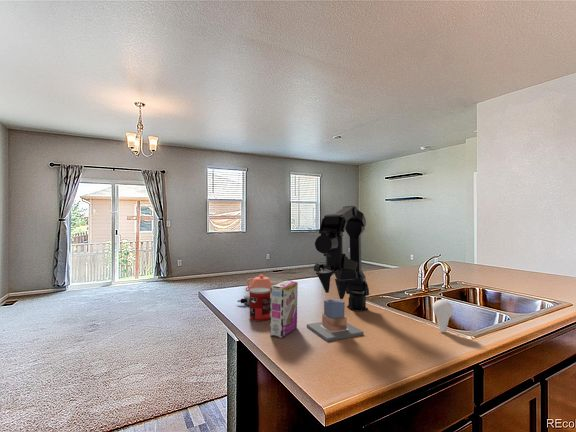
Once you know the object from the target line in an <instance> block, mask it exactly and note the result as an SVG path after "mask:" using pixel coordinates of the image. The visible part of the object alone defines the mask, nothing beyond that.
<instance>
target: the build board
mask: <svg viewBox="0 0 576 432" xmlns="http://www.w3.org/2000/svg"><path fill="white" fill-rule="evenodd" d="M306 328H307V329H309V330H310V331H312V332H313V333H314V334H316V335H317V336H318V337H320V338H321V339H323V340H324V341H325V342H332V341H337V340H338V341H339V340H342V339H348V338H354V337H359V336H364V331H363V330H361V329H360V328H357V327H356V326H354V325H352V324H350V323H348V322H347V329H345V330H339V331H333V332H331V331H329V330H328V329H326V328H325V327H323V326H322V321H319V322H312V323H306Z"/></svg>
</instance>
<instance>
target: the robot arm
mask: <svg viewBox="0 0 576 432" xmlns="http://www.w3.org/2000/svg"><path fill="white" fill-rule="evenodd" d="M366 219H367V218H366V216H365V214H364V213H363V212H362V211H360V209H358V208H357V206H355V205H345V206H343V207H342V208H340V210H338V211H336V212H334V213H325V214H324V215H323V217H322V220H321V222H320V225H319V230H318V234H320V235H319V236H318V237H316V239H315V242H314V247H315V249H316V251H318V253H321V254H323V257H325V262H317V263H315V264H314V266H313V271H314V272H315V275H317V278H318V280H319V282H320V283H321V285H322V288H323V290H324V293H326V294H328V293H330V285H331V284H330V283H331V277H332V276H333V274H334V275H335V279H334V280H335V286H336V289H337V294H338V297H339V300H343V299H344V298H345V296H346V294H347V295H349V297H348V305H347V306H346V307H347V308H348V309H350V310H352V311H355V312H359V311H366V310H368V309H369V308H368V307H366V306H367V305H366V304H367V302H366V301H367V300H366V297H367V296H370V288H369V285H368V282H367V280H366V279H367V278H366V275H365V273H364V272H363V270H362V235H363V233H364V232H365V229H366V226H367V220H366ZM345 232H346V234H347V235H348V238H349V257H348V256H347V255H346V253H344V251H343V250H344V249H343V246H344V245H343V239H344V238H343V237H344V233H345Z"/></svg>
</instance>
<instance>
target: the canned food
mask: <svg viewBox="0 0 576 432" xmlns="http://www.w3.org/2000/svg"><path fill="white" fill-rule="evenodd" d="M249 295H250V305H249V319H250V320H252V321H254V322H264V321H268V320H270V313H271V304H270V289H268V288H252V289H250V292H249Z"/></svg>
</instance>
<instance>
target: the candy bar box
mask: <svg viewBox="0 0 576 432" xmlns="http://www.w3.org/2000/svg"><path fill="white" fill-rule="evenodd" d="M298 284H299V283H298V281H293V280H284V281H282V282H279V283H277V284H274V285H273V286H271V304H270V318H269V321H270V323H269V324H270V327H269V331H270V332H269V333H270V334H269V336H271V337H274V338H279V339H283V338H285V337H286V336H287V335H289V334H290V333H291V332H293V331H294V330H296V329H297V328H298Z"/></svg>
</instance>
